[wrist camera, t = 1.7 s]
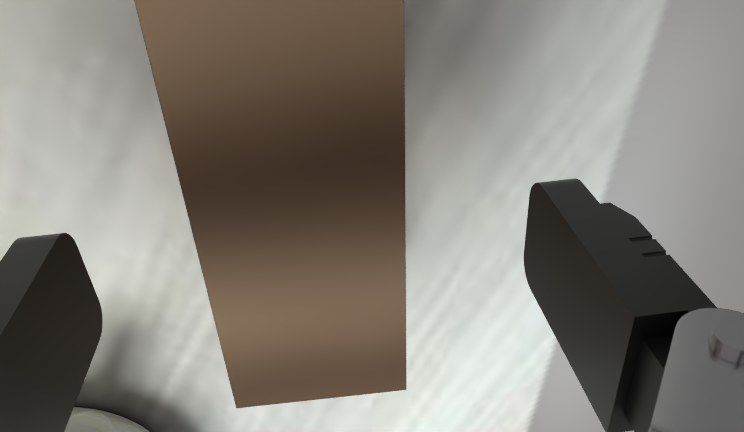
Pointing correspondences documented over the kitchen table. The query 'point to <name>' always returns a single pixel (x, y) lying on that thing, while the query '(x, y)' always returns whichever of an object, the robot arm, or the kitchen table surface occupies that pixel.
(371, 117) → the walnut beam
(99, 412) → the teacup
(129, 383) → the kitchen table surface
